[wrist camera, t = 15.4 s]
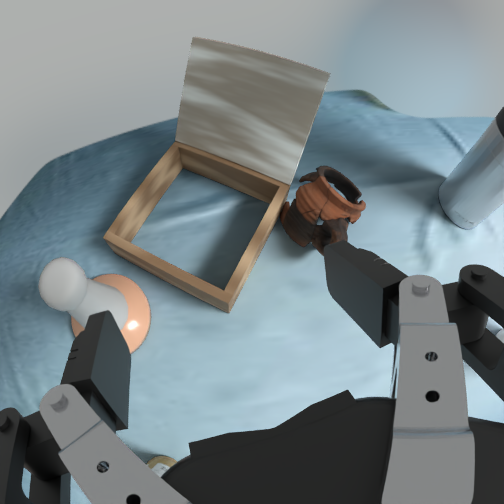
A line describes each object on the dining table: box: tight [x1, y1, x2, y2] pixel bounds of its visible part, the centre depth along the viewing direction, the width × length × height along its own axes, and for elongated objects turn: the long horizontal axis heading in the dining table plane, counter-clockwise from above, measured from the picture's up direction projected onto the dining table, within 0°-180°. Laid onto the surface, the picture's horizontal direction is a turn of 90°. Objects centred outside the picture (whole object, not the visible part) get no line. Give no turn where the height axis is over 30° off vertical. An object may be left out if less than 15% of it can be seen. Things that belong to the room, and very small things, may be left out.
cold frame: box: [103, 37, 330, 313], centre depth 32 cm, size 22×16×17 cm
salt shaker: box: [38, 257, 128, 331], centre depth 27 cm, size 6×6×13 cm
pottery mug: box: [280, 166, 366, 256], centre depth 38 cm, size 12×10×8 cm
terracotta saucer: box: [71, 274, 151, 354], centre depth 33 cm, size 10×10×1 cm
